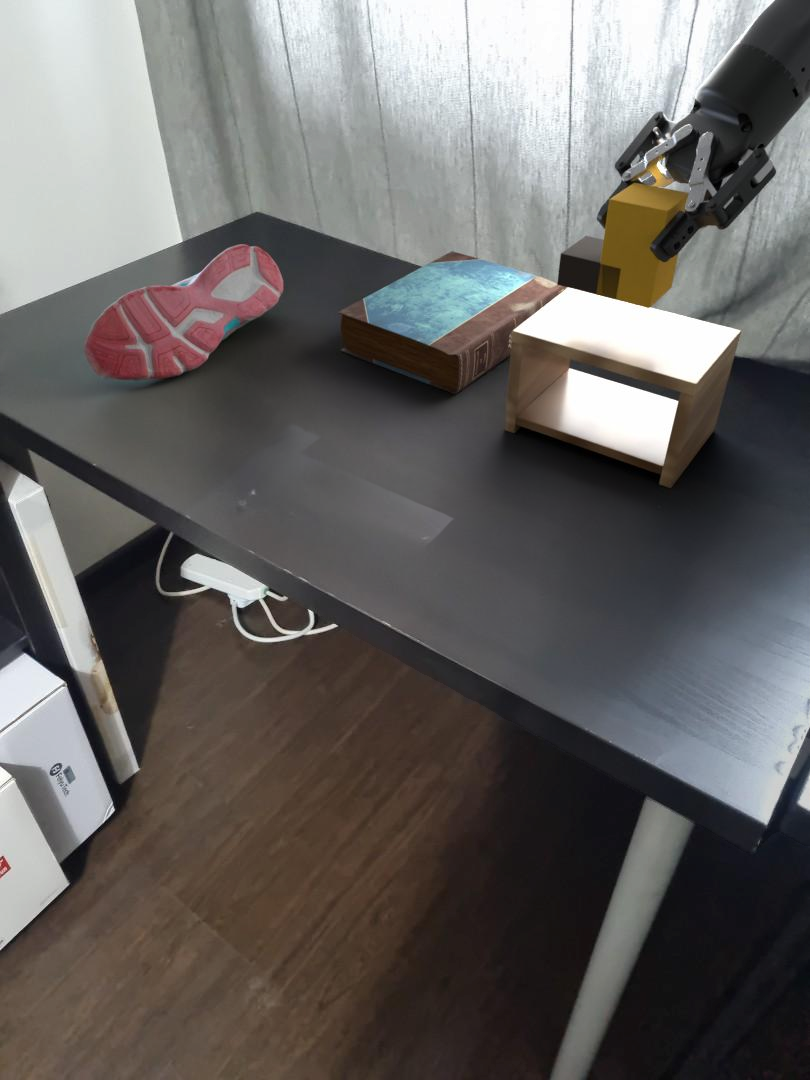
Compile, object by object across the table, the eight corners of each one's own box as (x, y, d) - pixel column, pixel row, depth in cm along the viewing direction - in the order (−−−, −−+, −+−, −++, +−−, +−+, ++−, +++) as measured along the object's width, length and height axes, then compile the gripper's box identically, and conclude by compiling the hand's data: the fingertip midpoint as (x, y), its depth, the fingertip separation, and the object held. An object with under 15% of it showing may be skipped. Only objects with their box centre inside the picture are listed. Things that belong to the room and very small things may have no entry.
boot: (671, 287, 76) (691, 192, 71) (649, 308, 73) (667, 211, 67) (581, 266, 80) (593, 174, 75) (556, 284, 77) (567, 190, 71)
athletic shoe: (266, 306, 111) (203, 232, 107) (299, 281, 104) (233, 201, 99) (132, 434, 99) (55, 356, 94) (158, 417, 91) (76, 331, 87)
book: (458, 396, 91) (459, 355, 88) (338, 350, 99) (335, 311, 96) (562, 321, 105) (566, 283, 101) (449, 286, 113) (450, 250, 110)
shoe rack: (714, 430, 85) (741, 330, 78) (670, 488, 78) (696, 384, 71) (557, 381, 93) (568, 286, 86) (504, 430, 86) (512, 330, 78)
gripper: (691, 26, 70) (560, 189, 74) (821, 57, 60) (662, 243, 64) (725, 88, 75) (601, 238, 79) (850, 126, 66) (701, 295, 70)
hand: (629, 240), depth 72 cm, fingers closed on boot, 7 cm apart
